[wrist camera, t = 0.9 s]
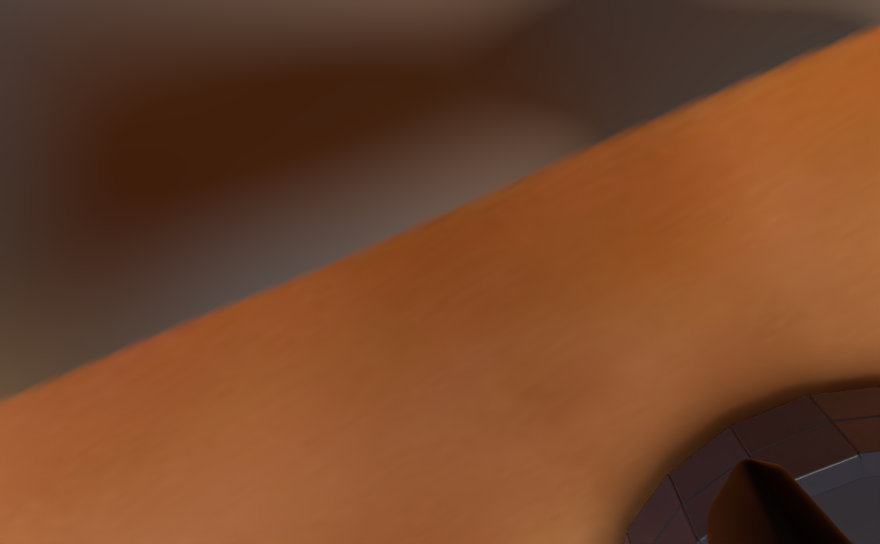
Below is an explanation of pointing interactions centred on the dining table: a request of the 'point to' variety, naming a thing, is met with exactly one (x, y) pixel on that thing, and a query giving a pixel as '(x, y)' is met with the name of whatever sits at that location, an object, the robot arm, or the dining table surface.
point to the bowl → (795, 449)
